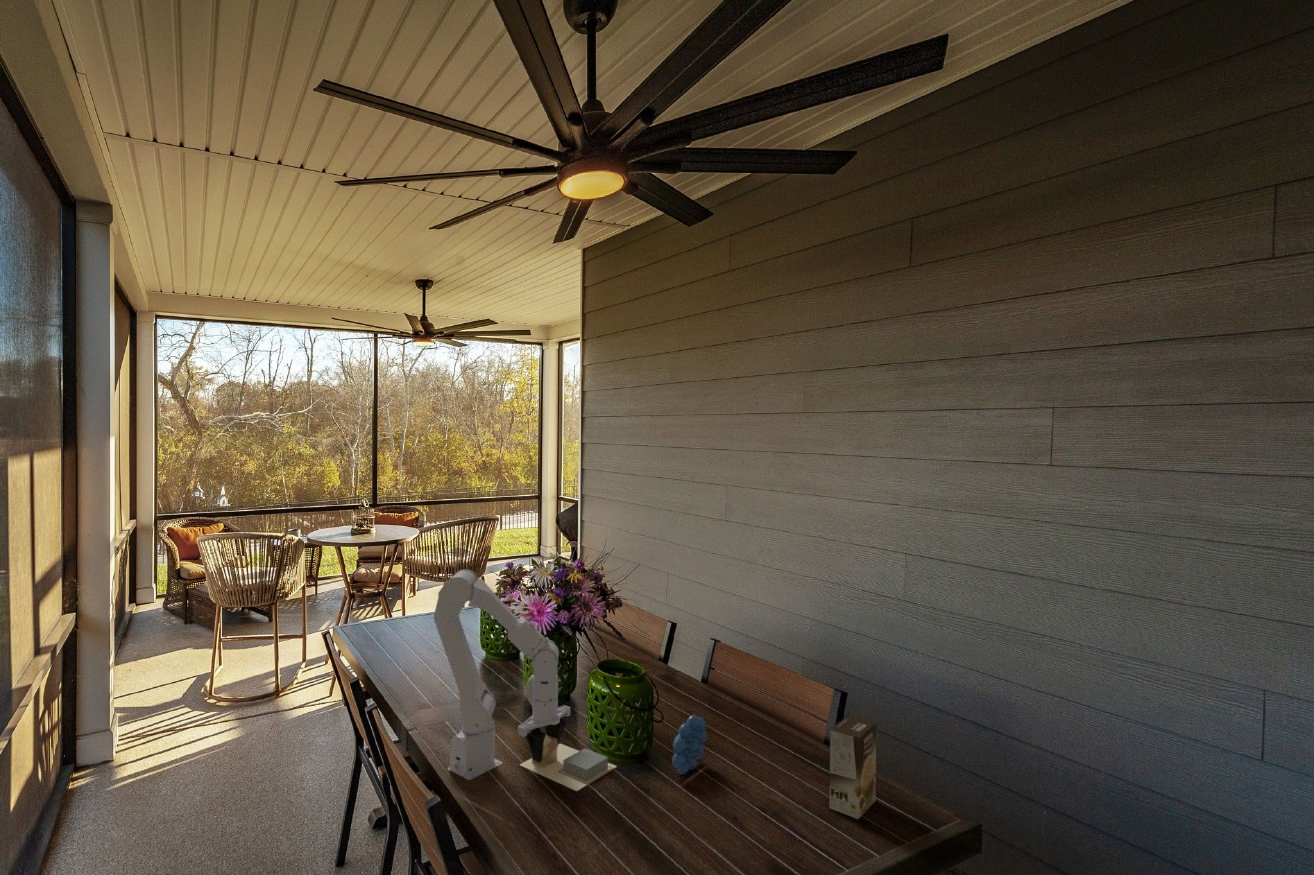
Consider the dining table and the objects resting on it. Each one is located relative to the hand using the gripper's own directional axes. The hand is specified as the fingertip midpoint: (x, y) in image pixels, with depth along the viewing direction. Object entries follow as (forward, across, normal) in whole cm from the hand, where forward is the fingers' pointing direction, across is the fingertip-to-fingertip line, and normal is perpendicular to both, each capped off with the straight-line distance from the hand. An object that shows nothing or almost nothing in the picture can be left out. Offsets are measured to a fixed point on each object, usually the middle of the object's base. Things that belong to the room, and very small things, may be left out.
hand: (544, 756), depth 145 cm
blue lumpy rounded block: (+2, +18, -27) cm, 33 cm away
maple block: (+1, 0, 0) cm, 1 cm away
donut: (+2, +20, +23) cm, 31 cm away
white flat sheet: (+2, +2, -6) cm, 6 cm away
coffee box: (+2, +27, -62) cm, 68 cm away
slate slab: (+1, +3, -10) cm, 10 cm away
